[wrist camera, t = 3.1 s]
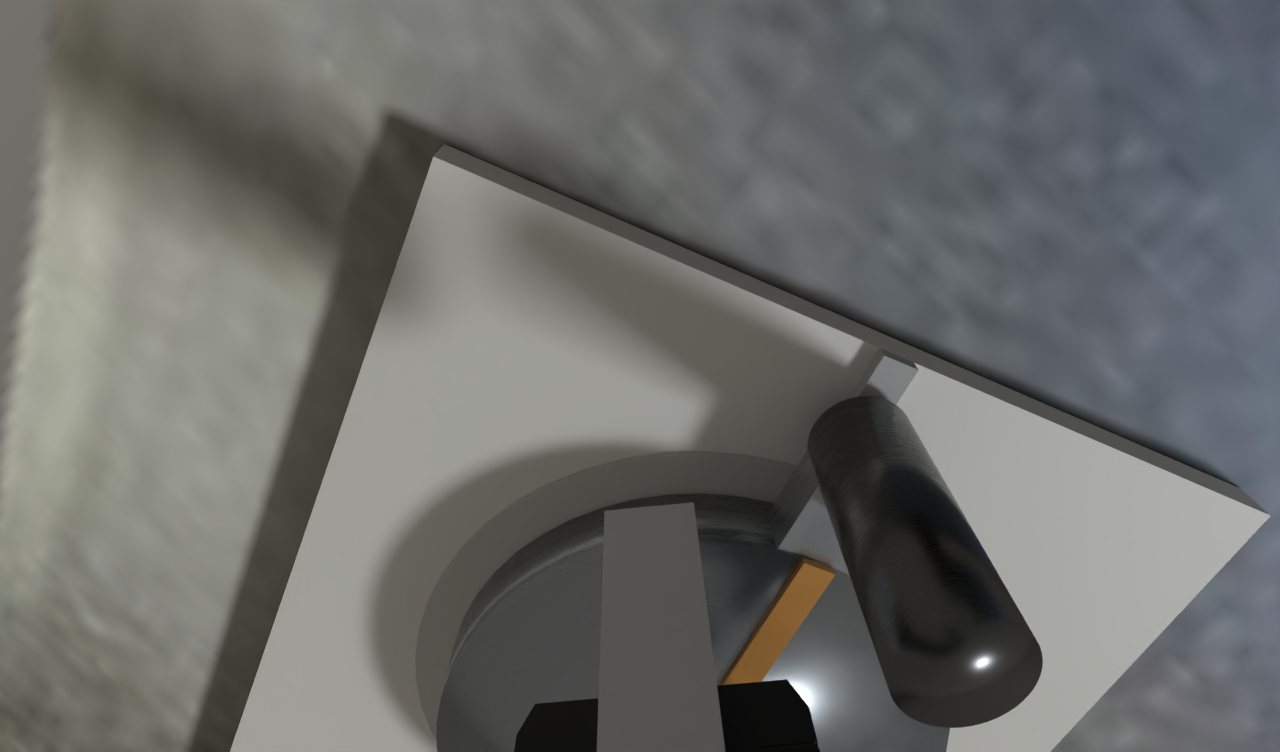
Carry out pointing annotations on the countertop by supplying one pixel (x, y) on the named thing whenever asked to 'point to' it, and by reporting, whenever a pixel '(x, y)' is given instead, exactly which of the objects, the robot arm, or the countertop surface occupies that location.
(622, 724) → the robot arm
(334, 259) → the countertop surface
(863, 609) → the dial
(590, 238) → the panel
